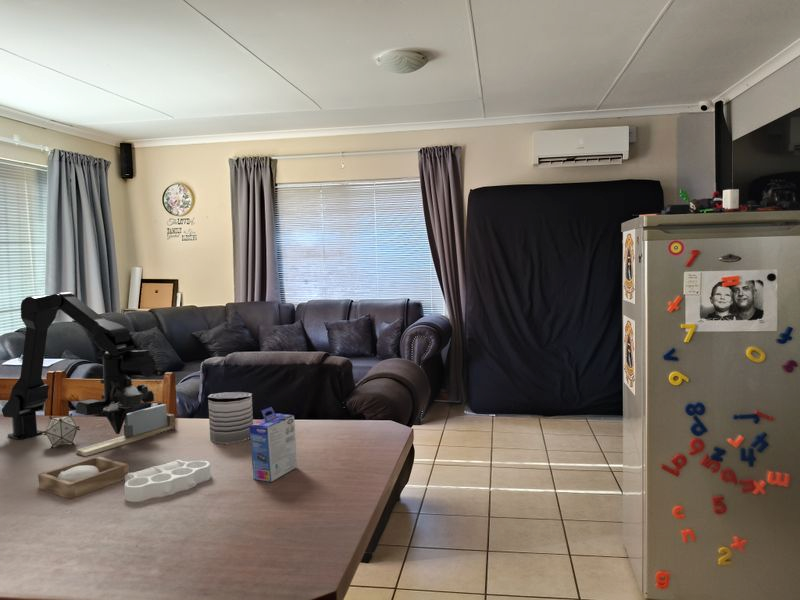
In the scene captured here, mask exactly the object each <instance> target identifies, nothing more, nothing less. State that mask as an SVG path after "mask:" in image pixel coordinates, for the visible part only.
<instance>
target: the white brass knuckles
mask: <svg viewBox="0 0 800 600" xmlns="http://www.w3.org/2000/svg"><path fill="white" fill-rule="evenodd" d="M211 478H212V470H211V463H210V461H206V460H193V461H184V460H182V459H175V460H173V461H170V462H168V463H163V464H160V465H153V466H151V467H148V468H145V469H142V470H138V471H134V472H129V473H128V474H127V475H125V479H124V482H125V483H124V485H123V486H124V499H125V500H126V501H127V502H131V503H135V502H138V503H140V502H144V501H146V500H149V499H152V498H153V499H154V498H163V497H167V496H172V495H174V494H176V493H178V492H181V491H186V490H187V491H188V490H189V489H192V488H194V487H195V486H197V485H198V484H200V483H203V482H206V481H209V480H211ZM197 483H198V484H197Z"/></svg>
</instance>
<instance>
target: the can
mask: <svg viewBox="0 0 800 600" xmlns="http://www.w3.org/2000/svg"><path fill="white" fill-rule="evenodd" d="M207 398H208V400H207V402H208V419H209V421H208V422H209V437H210V438H209V440H210V441H211V442H212V443H214V442H215V443H214V444H222V443H230V444H234V443H233V442H237V443H240V442H239V441H243V440H245V439H248V438H250V427H249V426H250V425H252V424H254V416H253V415H254V414H253V412H254V411H253V393H250V392H244V391H243V392H242V391H233V392H232V391H231V392H229V391H228V392H227V391H226V392H218V393H211V394H209V395H208V396H207ZM248 440H249V439H248ZM245 441H246V440H245ZM243 442H244V441H243Z"/></svg>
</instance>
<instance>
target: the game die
mask: <svg viewBox="0 0 800 600" xmlns="http://www.w3.org/2000/svg"><path fill="white" fill-rule="evenodd" d="M72 416H73V412H71V413H70V415H68V416H67V415H66V416H59V417H52V416H50V415H49V416H48V417H49V419H50V420H49V423H48V425H47V427H46V429H45V430H42V431H43V432H42V434H43V435H44V436H47V439H48V440H49V443H50V444H51V446H50V449H51V448H52V449H53V448H54V447H55V446H60V445H68V444H69V445H70V444H71V445H72V446H75V443H74V440H75V437H76V434H77V431H80V430H81V428H80V426H78V425H76V422H75V421H74V419H73V417H72Z"/></svg>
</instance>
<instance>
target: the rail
mask: <svg viewBox="0 0 800 600" xmlns="http://www.w3.org/2000/svg"><path fill="white" fill-rule="evenodd" d="M167 424H168V425H167V426H164V427H161V428H158V429H154V430H151V431H148V432H144V433H141V434H138V435H134V436H133V437H126V436H124V435H122V436H117V437H115V438H111V439H108V440H104V441H101V442H98V443H95V444H92V445H88V446H84V447H81V448H78V449H76V450H75V451H76V454H77V455H79V456H80V455H81V456H83V457H88V456H91V455H94V454H97V453H100V452H103V451H107V450H110V449H115V448H116V447H119V446H123V445H126V444H129V443H133V442H136V441H140V440H143V439H146V438H149V437H152V436H155V435H154V434H156V435H158V434H157V433H159V434H161V433H160V432H162V433H164V432H163V431H165V432H167V430H169V431H171V430H170V429H172V430H174V429H173V428H175V429H176V420H175V414H173V413H168V412H167ZM151 435H152V436H151ZM148 436H149V437H148ZM145 437H146V438H145Z"/></svg>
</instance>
